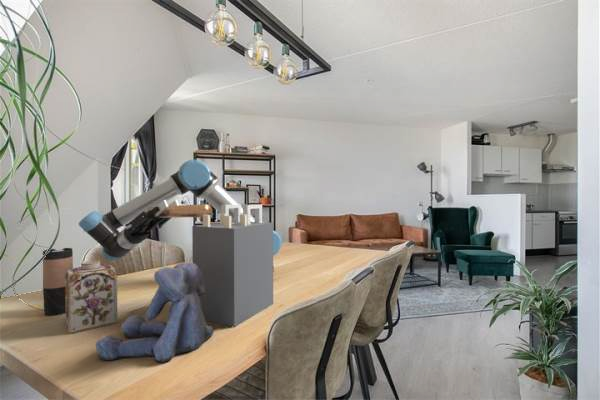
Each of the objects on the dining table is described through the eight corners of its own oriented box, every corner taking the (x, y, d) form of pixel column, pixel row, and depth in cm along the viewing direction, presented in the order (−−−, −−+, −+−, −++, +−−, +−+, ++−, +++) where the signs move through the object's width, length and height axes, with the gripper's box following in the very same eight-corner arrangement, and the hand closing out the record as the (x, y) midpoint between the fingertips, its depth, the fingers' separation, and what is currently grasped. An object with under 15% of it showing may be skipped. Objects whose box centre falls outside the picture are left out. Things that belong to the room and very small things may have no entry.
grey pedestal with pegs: (236, 297, 113) (235, 204, 112) (273, 303, 106) (273, 204, 105) (192, 317, 94) (192, 205, 94) (234, 327, 87) (234, 206, 87)
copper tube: (148, 219, 106) (145, 208, 105) (158, 215, 110) (155, 205, 109) (204, 218, 95) (201, 206, 94) (213, 214, 98) (210, 202, 97)
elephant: (139, 323, 90) (139, 253, 89) (223, 327, 87) (222, 254, 87) (83, 362, 69) (83, 270, 69) (190, 367, 67) (190, 273, 67)
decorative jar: (68, 335, 82) (67, 268, 82) (64, 321, 91) (64, 261, 91) (119, 322, 90) (118, 261, 90) (111, 311, 99) (110, 256, 99)
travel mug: (56, 317, 94) (56, 252, 94) (36, 315, 96) (35, 251, 95) (79, 308, 102) (78, 248, 101) (60, 306, 103) (59, 247, 103)
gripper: (157, 241, 119) (195, 211, 110) (113, 247, 104) (153, 214, 95) (150, 224, 121) (187, 193, 111) (106, 228, 106) (145, 193, 96)
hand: (171, 203), depth 103 cm, fingers closed on copper tube, 4 cm apart
